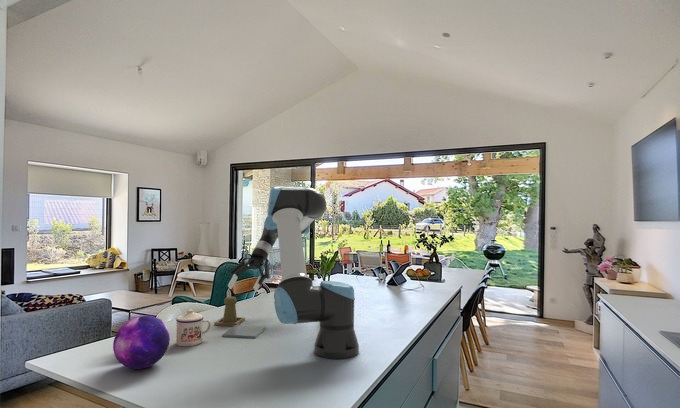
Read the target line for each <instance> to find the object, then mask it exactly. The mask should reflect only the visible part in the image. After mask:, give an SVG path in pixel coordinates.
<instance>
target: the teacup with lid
mask: <svg viewBox="0 0 680 408" xmlns="http://www.w3.org/2000/svg"><path fill="white" fill-rule="evenodd" d="M186 311H187V312H185V313H183V314H181V315H179V316H177V317H176V319H175V321H176V334H175V335H176V336H175V339H176V340H175V341H176V342H175V344H176V345H177V346H179V347H193V346H197V345H199V344H201V343H202V342H203V335H205V334H207V333H209V332H210V329H211V328H212V323H211V321H210V320H208V319H204V315H202V314H200V313H197V312H194V310H193V308H192V309H187V310H186ZM203 323H208V326H207V329H205V330H204V331H203V326H204V325H203Z"/></svg>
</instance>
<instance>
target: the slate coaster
mask: <svg viewBox="0 0 680 408" xmlns="http://www.w3.org/2000/svg"><path fill="white" fill-rule="evenodd" d="M266 329H267V326H263V325H247V324H245V325H243V324H242V325H241V324H239V325H235V326H231V327H230V328H229V329H228V330H226V331H225V332H224V333H222V335H221V336H222V337H223V338H224V337H225V338H243V339H257V338H258V337H259V336H260V335H261V334H262V333H263V332H264V331H265V330H266Z"/></svg>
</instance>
